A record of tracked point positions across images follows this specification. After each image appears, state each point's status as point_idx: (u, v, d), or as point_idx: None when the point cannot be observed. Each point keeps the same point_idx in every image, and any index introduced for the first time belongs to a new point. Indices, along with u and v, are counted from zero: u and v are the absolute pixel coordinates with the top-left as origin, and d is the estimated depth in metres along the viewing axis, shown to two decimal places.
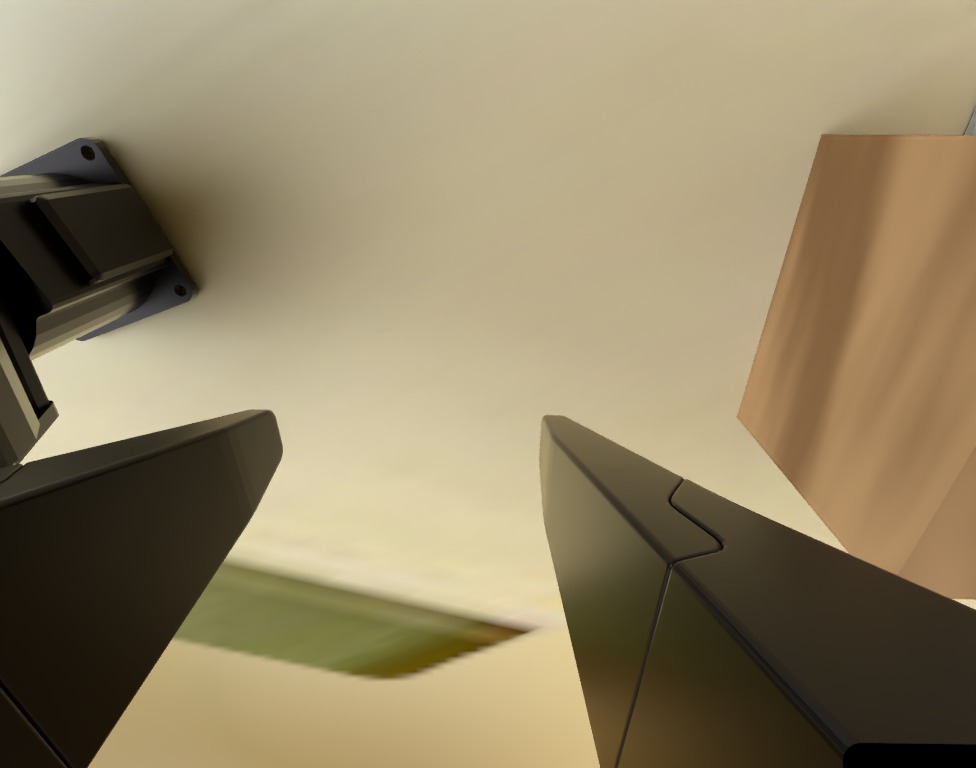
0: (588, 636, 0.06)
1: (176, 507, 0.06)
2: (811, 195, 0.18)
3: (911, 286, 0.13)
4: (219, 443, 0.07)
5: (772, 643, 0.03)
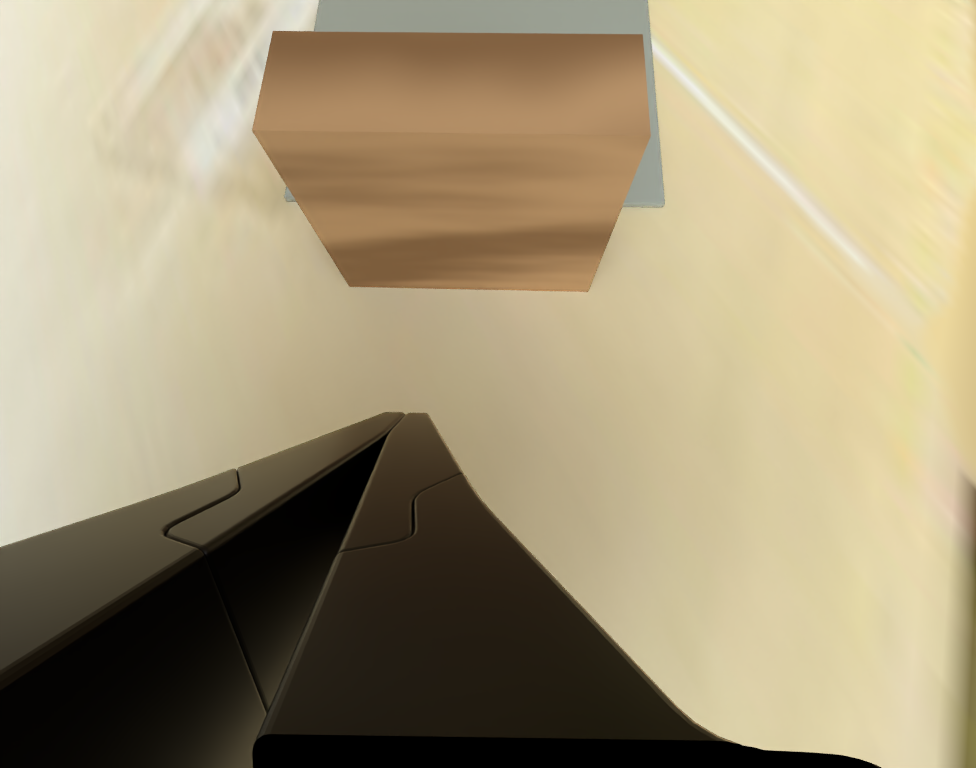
0: None
1: None
2: (386, 283, 0.23)
3: (398, 208, 0.18)
4: (382, 446, 0.07)
5: (320, 631, 0.03)
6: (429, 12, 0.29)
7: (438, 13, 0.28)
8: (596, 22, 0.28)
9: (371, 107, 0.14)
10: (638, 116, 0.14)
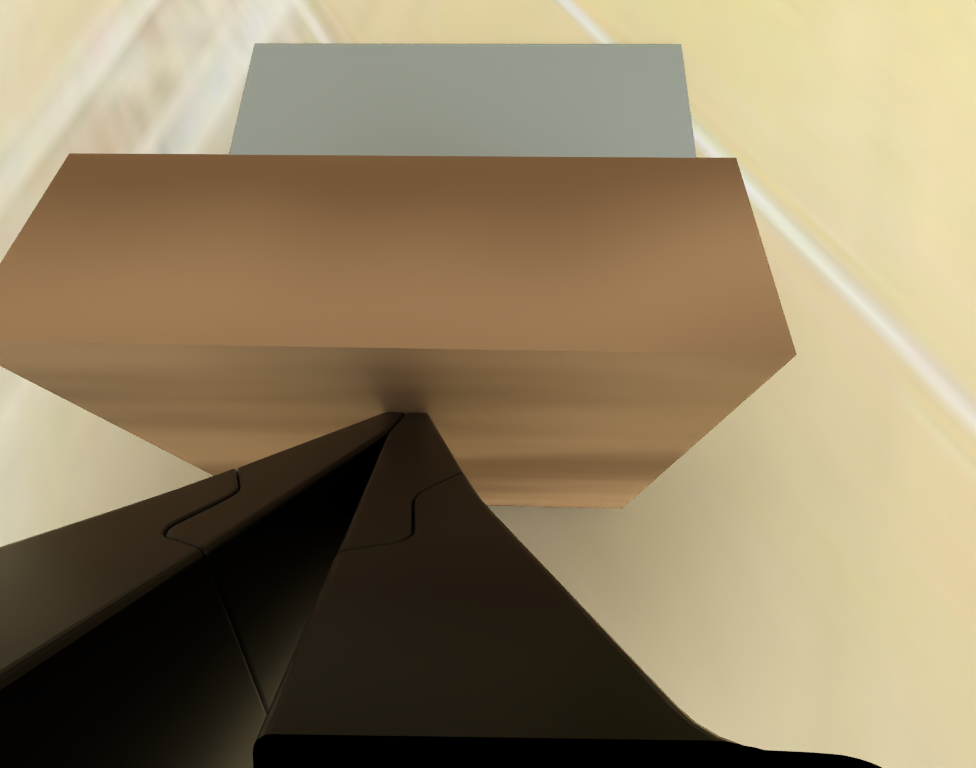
0: None
1: None
2: None
3: (300, 434, 0.10)
4: (382, 447, 0.07)
5: (323, 630, 0.03)
6: (393, 88, 0.21)
7: (405, 90, 0.21)
8: (617, 101, 0.21)
9: (213, 291, 0.07)
10: (760, 311, 0.07)
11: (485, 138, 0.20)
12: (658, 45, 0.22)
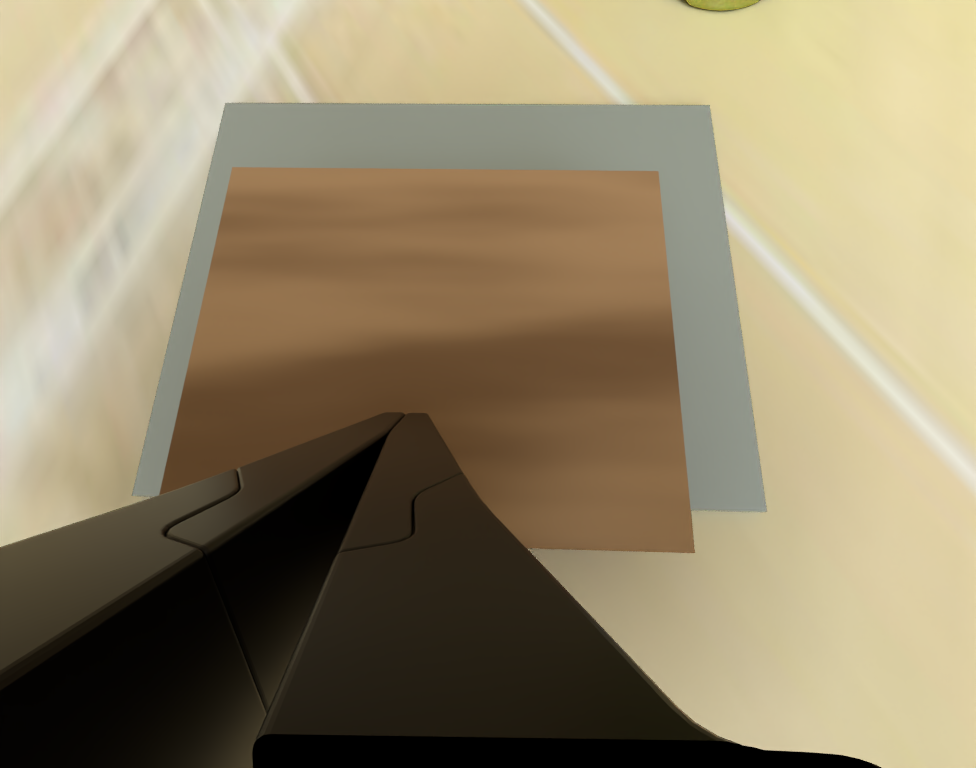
0: None
1: None
2: None
3: (348, 283, 0.12)
4: (382, 446, 0.07)
5: (321, 630, 0.03)
6: (382, 157, 0.19)
7: (395, 159, 0.19)
8: None
9: None
10: None
11: None
12: (683, 106, 0.19)
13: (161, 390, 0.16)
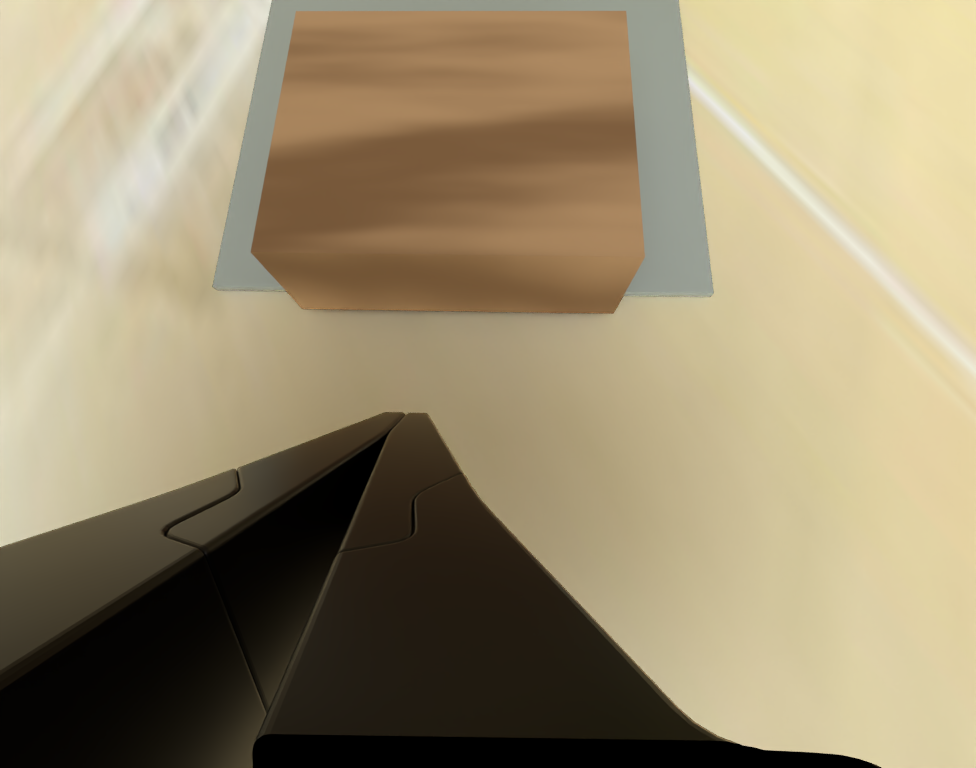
0: None
1: None
2: (317, 238, 0.15)
3: (388, 89, 0.16)
4: (382, 447, 0.07)
5: (321, 630, 0.03)
6: None
7: None
8: None
9: None
10: None
11: None
12: None
13: (231, 212, 0.20)
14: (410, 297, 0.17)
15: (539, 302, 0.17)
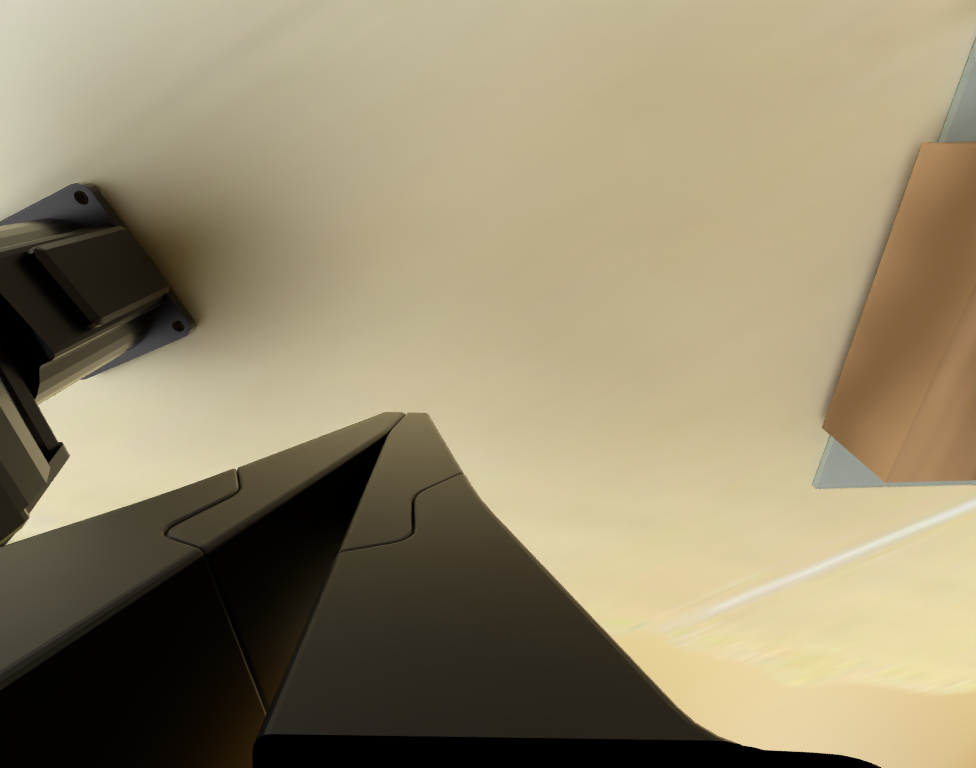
0: None
1: None
2: None
3: None
4: (383, 447, 0.07)
5: (323, 630, 0.03)
6: None
7: None
8: None
9: None
10: None
11: None
12: None
13: None
14: (899, 274, 0.18)
15: (854, 381, 0.20)
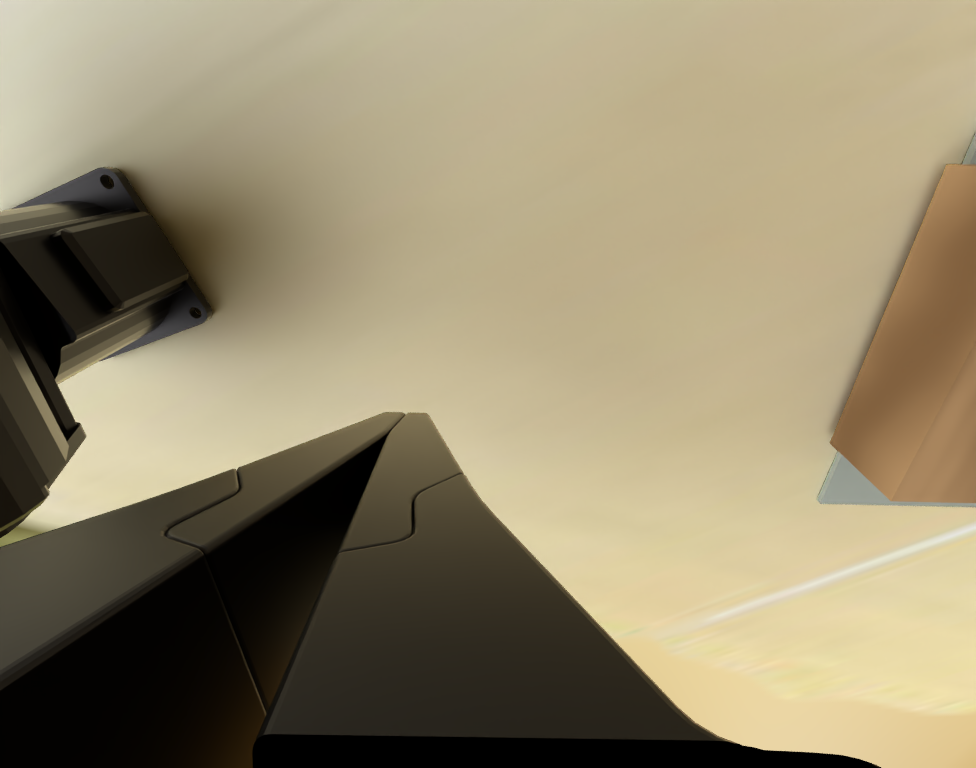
0: None
1: None
2: None
3: None
4: (382, 447, 0.07)
5: (321, 628, 0.03)
6: None
7: None
8: None
9: None
10: None
11: None
12: None
13: None
14: (916, 294, 0.18)
15: (864, 398, 0.20)
